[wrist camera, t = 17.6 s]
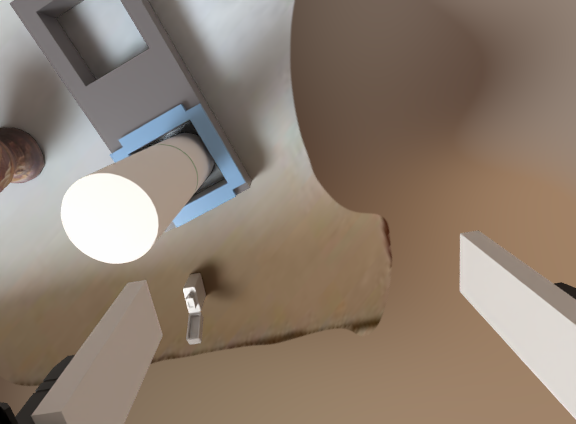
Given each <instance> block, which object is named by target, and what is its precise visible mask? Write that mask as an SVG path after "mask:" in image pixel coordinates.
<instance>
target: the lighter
mask: <svg viewBox="0 0 576 424" xmlns="http://www.w3.org/2000/svg"><path fill="white" fill-rule="evenodd" d="M183 292H184V296H185V299H186V304H187V308H188V311H189V313H190V314H189V319H188V328H187V337H186V339H187V341H188V342H189V344H197V343H201V340H202V328H203V316H202V314H201V312H200V311H201V309H202V306H203V303H204V300H205V297H206V293H205V289H204V285H203V281H202V277H201V274H200V273H195V274H190V275H189V278H188V280H187V282H186V284H185V286H184V288H183Z"/></svg>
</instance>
